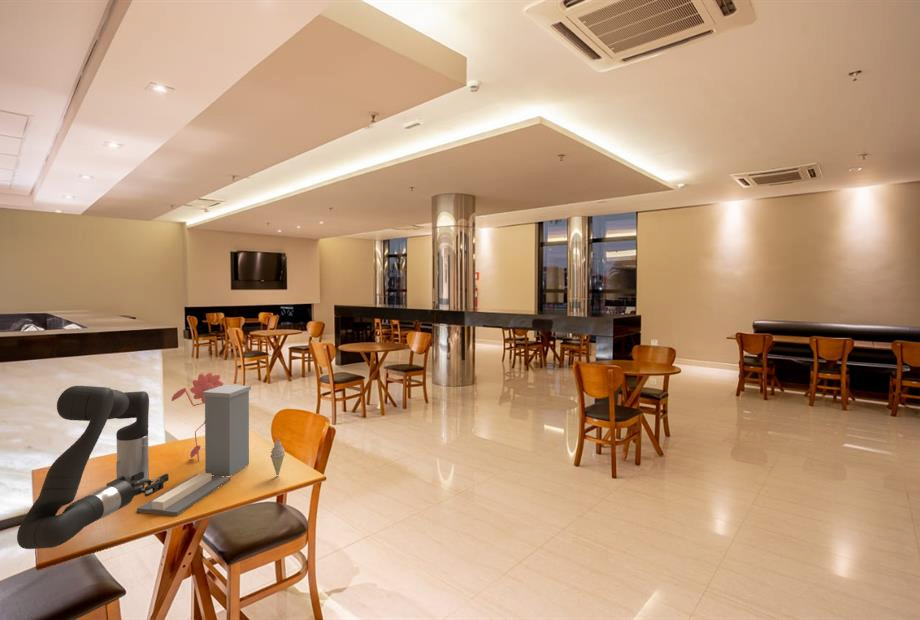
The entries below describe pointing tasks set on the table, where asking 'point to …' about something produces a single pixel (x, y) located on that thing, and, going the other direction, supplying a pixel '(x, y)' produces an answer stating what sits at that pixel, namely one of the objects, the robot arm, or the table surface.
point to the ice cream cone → (277, 456)
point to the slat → (181, 491)
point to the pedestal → (226, 429)
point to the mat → (186, 497)
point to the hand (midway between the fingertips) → (155, 475)
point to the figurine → (200, 396)
